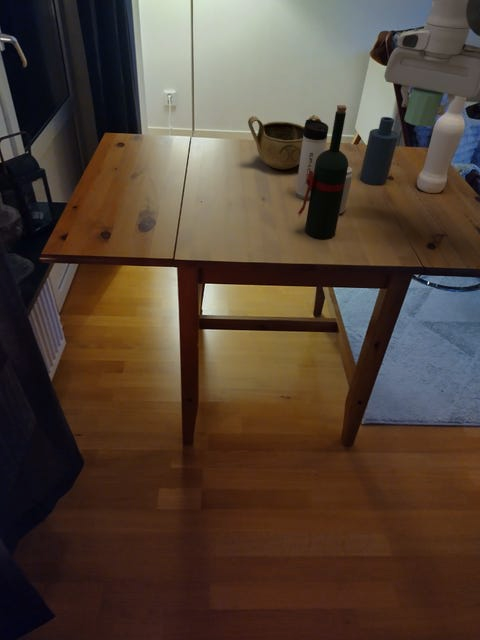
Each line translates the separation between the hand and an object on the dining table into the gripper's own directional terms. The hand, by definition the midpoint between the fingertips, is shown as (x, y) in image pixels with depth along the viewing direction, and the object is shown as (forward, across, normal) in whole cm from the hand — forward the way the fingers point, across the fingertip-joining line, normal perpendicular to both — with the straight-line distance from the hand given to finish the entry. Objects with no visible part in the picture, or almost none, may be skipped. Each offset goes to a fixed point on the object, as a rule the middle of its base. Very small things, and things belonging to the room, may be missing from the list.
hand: (422, 110), depth 105 cm
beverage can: (+28, +14, +5) cm, 32 cm away
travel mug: (+28, +24, +1) cm, 37 cm away
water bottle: (+28, +12, -21) cm, 37 cm away
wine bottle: (+28, +14, +18) cm, 36 cm away
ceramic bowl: (+28, +40, -13) cm, 51 cm away
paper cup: (+2, 0, 0) cm, 2 cm away
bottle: (+28, -4, -26) cm, 38 cm away
